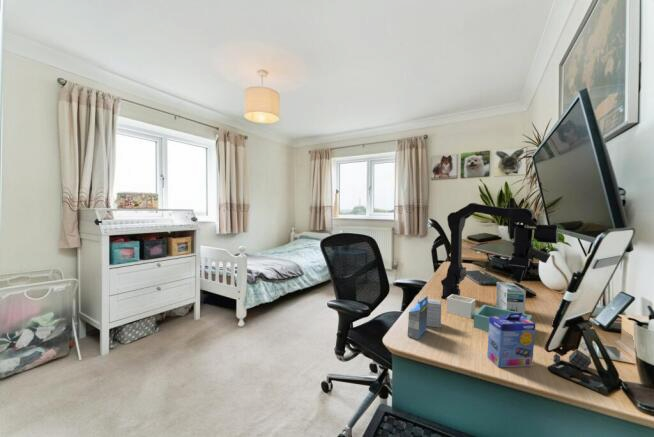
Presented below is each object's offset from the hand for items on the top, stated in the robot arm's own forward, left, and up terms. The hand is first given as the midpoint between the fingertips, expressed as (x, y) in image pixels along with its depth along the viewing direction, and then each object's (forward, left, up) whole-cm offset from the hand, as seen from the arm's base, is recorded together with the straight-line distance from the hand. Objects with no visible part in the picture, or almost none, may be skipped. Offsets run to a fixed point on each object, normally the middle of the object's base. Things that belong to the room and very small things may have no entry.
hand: (520, 280), depth 107 cm
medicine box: (-22, -33, -14) cm, 42 cm away
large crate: (-2, -18, -14) cm, 23 cm away
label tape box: (-22, -42, -14) cm, 50 cm away
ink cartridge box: (+4, -41, -14) cm, 43 cm away
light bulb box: (-3, +1, -14) cm, 15 cm away
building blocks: (+16, -31, -14) cm, 37 cm away
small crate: (-17, -14, -14) cm, 26 cm away
